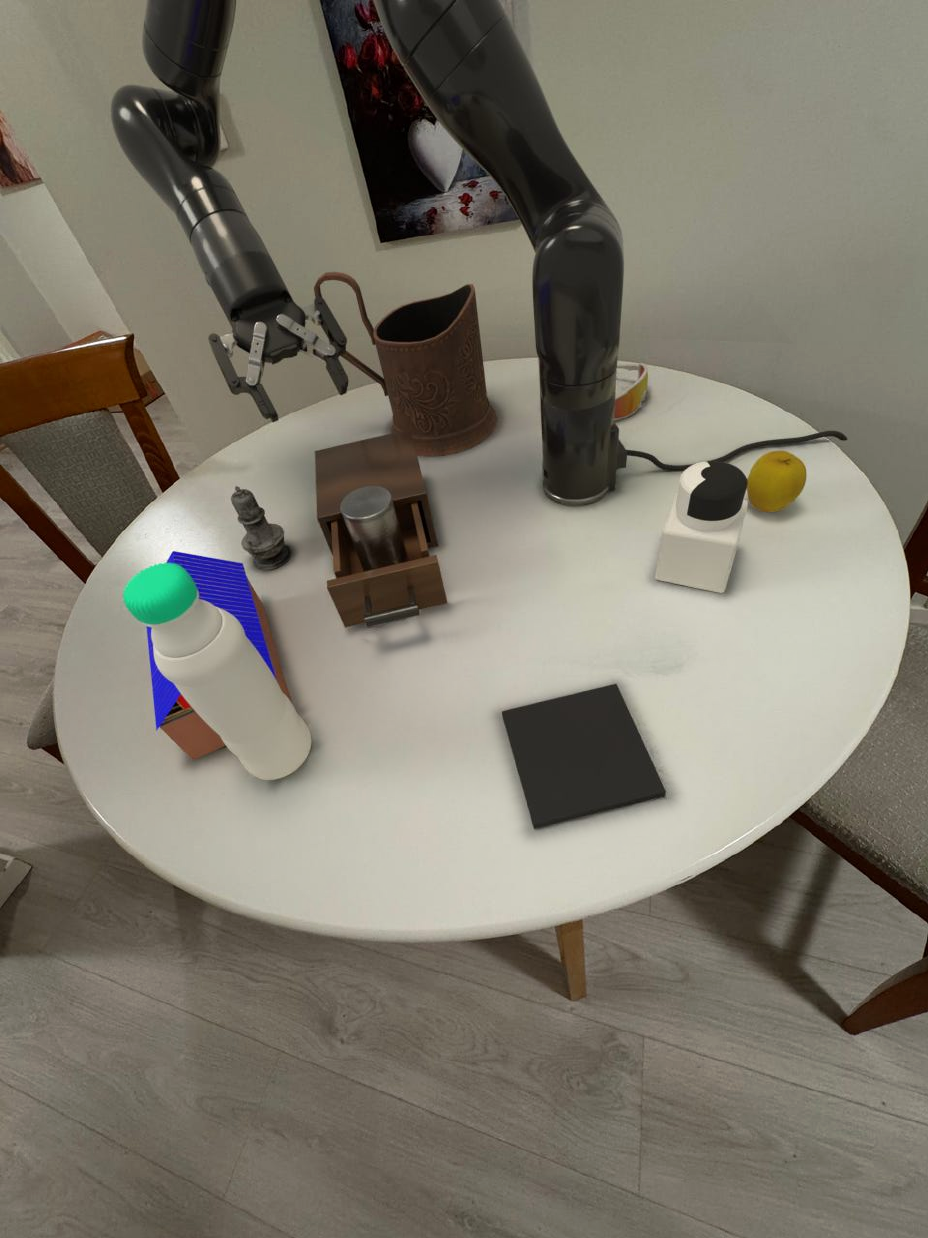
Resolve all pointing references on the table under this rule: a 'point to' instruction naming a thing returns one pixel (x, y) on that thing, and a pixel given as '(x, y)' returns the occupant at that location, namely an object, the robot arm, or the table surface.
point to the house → (238, 597)
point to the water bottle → (218, 671)
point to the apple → (775, 481)
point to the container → (703, 527)
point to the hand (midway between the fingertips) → (310, 405)
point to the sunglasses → (631, 392)
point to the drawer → (385, 577)
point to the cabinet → (371, 477)
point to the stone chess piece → (259, 532)
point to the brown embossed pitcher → (430, 369)
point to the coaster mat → (580, 756)
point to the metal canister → (374, 527)
